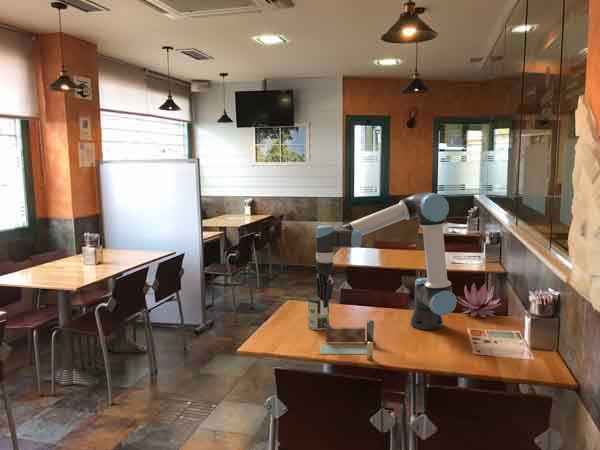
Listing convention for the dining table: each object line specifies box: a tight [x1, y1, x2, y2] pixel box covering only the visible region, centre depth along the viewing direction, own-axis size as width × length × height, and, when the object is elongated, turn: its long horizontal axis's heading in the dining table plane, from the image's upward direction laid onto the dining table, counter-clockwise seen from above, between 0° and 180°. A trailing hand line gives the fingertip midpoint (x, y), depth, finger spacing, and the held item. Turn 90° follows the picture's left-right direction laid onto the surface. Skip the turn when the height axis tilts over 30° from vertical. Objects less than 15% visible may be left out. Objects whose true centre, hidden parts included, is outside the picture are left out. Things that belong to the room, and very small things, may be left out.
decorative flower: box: [456, 282, 501, 319], centre depth 242 cm, size 21×21×15 cm
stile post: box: [366, 341, 374, 362], centre depth 188 cm, size 2×2×7 cm
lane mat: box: [318, 343, 367, 355], centre depth 198 cm, size 20×10×1 cm, turn 88°
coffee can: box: [307, 294, 330, 331], centre depth 227 cm, size 10×10×14 cm
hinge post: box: [363, 319, 377, 346], centre depth 204 cm, size 5×5×10 cm
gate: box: [325, 324, 366, 343], centre depth 205 cm, size 17×2×7 cm, turn 88°
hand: (324, 314), depth 208 cm, fingers closed
